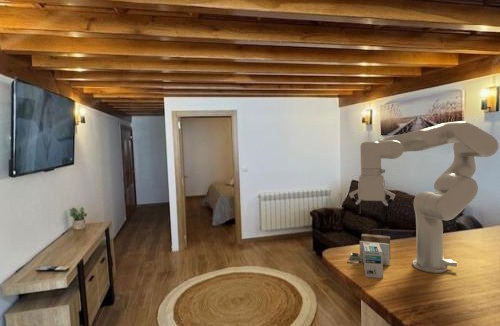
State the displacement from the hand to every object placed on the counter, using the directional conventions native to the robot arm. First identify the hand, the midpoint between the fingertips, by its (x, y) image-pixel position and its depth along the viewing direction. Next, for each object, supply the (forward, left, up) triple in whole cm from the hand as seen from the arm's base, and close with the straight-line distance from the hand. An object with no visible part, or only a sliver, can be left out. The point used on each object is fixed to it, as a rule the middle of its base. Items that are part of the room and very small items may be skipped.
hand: (372, 214), depth 122 cm
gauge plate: (+2, -9, -24) cm, 26 cm away
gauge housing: (+3, -12, -24) cm, 27 cm away
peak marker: (+9, -14, -24) cm, 29 cm away
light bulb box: (0, 0, -25) cm, 25 cm away
